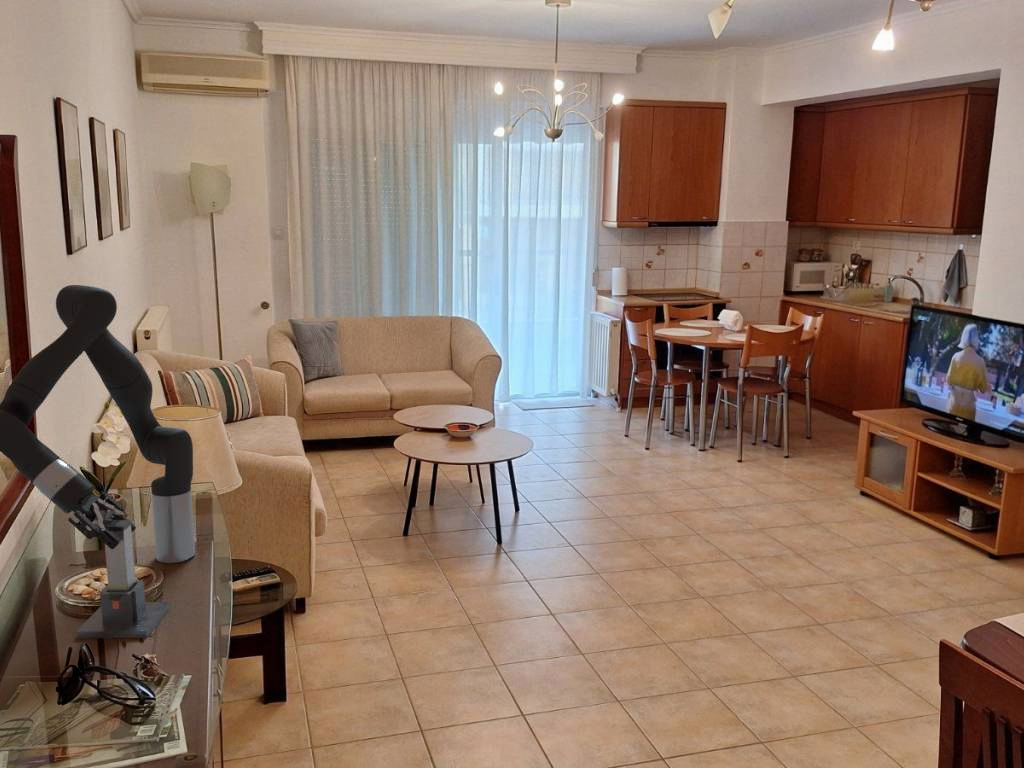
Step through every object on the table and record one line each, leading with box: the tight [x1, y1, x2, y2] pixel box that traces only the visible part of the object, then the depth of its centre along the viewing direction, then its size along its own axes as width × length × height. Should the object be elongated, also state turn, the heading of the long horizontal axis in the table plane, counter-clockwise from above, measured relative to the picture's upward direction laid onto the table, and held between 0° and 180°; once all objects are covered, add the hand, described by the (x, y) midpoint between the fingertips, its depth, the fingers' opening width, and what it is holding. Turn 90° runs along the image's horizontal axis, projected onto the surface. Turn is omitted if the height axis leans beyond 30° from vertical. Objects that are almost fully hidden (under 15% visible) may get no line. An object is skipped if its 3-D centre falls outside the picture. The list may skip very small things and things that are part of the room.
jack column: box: [104, 519, 136, 592], centre depth 188 cm, size 4×4×16 cm
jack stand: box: [75, 579, 171, 640], centre depth 190 cm, size 14×14×8 cm
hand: (125, 538), depth 187 cm, fingers open, 8 cm apart
